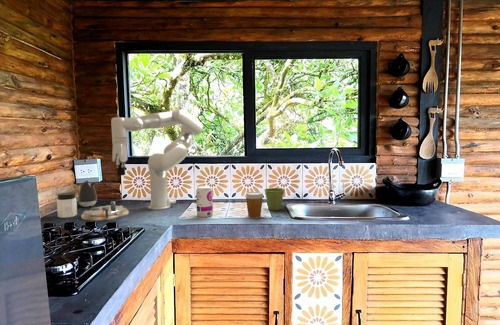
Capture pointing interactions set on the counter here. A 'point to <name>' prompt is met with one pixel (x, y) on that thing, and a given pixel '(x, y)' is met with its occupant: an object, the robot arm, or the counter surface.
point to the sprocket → (101, 210)
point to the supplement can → (204, 201)
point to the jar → (66, 205)
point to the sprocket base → (93, 218)
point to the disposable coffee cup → (254, 203)
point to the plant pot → (274, 198)
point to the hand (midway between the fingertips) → (121, 175)
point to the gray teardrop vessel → (87, 194)
